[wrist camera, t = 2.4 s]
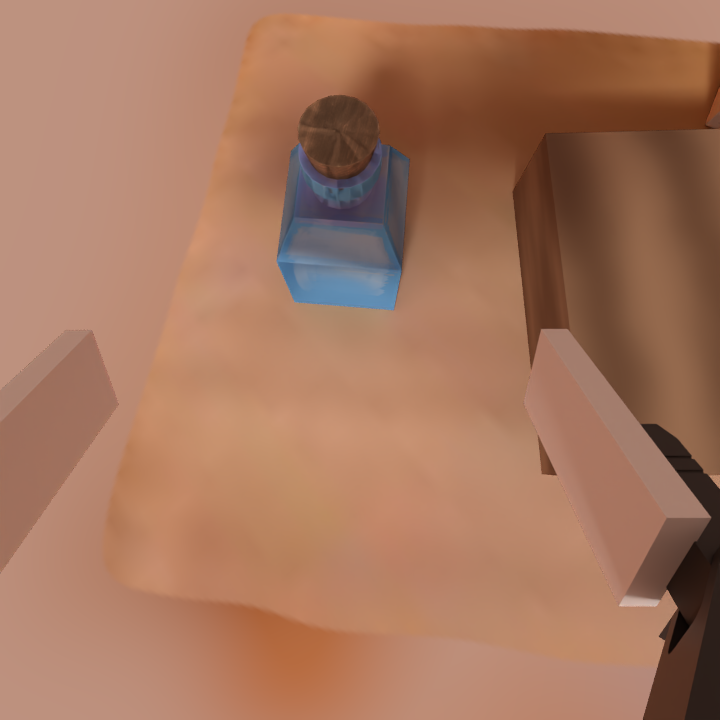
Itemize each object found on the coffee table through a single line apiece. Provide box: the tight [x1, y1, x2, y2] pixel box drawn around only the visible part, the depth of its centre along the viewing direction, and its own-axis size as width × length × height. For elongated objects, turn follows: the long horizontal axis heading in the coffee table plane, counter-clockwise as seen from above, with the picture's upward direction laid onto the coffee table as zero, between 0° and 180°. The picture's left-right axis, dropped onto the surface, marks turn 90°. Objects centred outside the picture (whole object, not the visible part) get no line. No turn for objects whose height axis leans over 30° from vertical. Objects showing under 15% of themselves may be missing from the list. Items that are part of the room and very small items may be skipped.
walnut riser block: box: [513, 129, 720, 475], centre depth 26 cm, size 16×18×6 cm
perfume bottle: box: [277, 95, 410, 310], centre depth 24 cm, size 6×6×12 cm
